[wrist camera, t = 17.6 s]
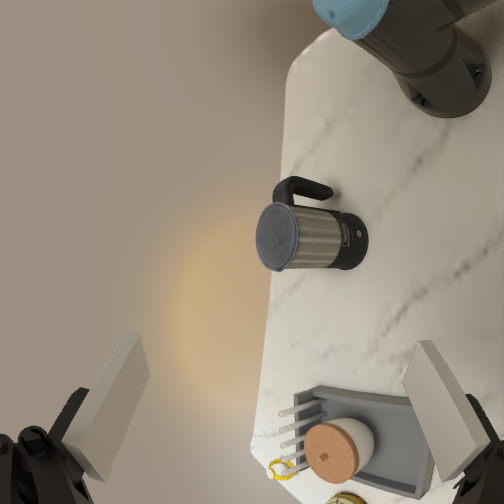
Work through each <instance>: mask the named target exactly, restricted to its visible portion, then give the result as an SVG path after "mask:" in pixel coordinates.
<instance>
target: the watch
mask: <svg viewBox="0 0 504 504" xmlns="http://www.w3.org/2000/svg"><path fill="white" fill-rule="evenodd" d="M276 463H282V461H281V459H276V460H274V461H272V462H271V463H270V464H269V467H268V469H267V475H268V477H269V478H270V479H277V480H288V479H291V478H292V477H293V476H294V474H295V472H293V473H292V474H291V475H288V476H279V475H276V473H275V471H274V470H273V469H272V468H271V466H272V465H274V464H276ZM283 464H287V465H288V466H289V467H290V468H292V467H294V466H293V465H292V464H291V463H290V462H289V461H287V462H285V463H283Z"/></svg>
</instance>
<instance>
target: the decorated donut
mask: <svg viewBox="0 0 504 504" xmlns="http://www.w3.org/2000/svg"><path fill="white" fill-rule="evenodd" d="M326 504H365V503H364V502H363V501H362V500H361V499H359V498H358V497H356V496H353V495H349V494H338V495H335V496H333V497H332V498H331V499H329V500H328V502H327V503H326Z"/></svg>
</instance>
